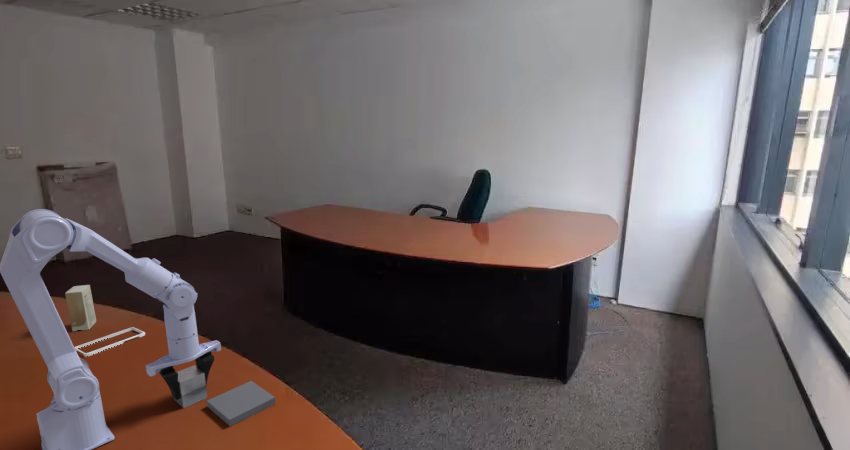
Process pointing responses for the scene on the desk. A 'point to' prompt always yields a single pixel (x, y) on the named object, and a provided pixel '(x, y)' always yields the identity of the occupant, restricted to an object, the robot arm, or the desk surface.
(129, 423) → the desk surface
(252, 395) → the stand
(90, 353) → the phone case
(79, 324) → the skincare box
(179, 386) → the block
